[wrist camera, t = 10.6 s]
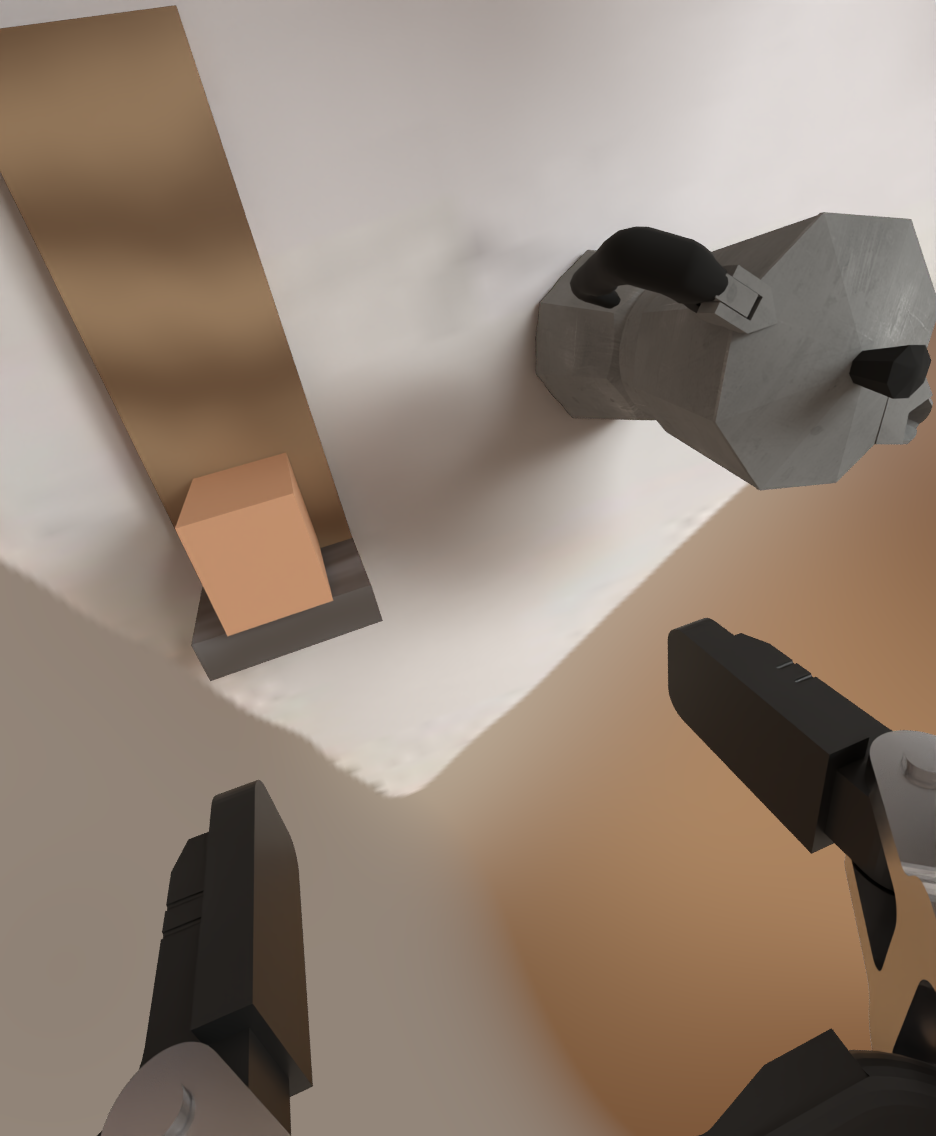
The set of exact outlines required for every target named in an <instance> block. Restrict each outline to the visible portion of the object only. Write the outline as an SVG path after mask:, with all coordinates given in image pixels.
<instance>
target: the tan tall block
mask: <svg viewBox="0 0 936 1136" xmlns="http://www.w3.org/2000/svg"><path fill="white" fill-rule="evenodd" d="M175 530H176V532H177V534H178V536H179V538H180V540H181V542H182V544H183V546H184V548H185V550H186V552H187V554H188V556H189V558H190V561H191V563H192V565H193V567H194V569H195V571H196V573H197V575H198V577H199V579H200V581H201V583H202V585H203V587H204V589H205V591H206V593H207V595H208V597H209V599H210V601H211V603H212V606H213V608H214V610H215V612H216V614H217V616H218V618H219V620H220V622H221V624H222V626H223V628H224V630H225V632H226V634H227V636H230V635H233V634H236V633H239V632H242V631H245V630H248V629H251V628H254V627H257V626H260V625H263V624H266V623H269V622H272V621H274V620H277V619H280V618H283V617H286V616H289V615H292V614H295V613H298V612H301V611H304V610H307V609H310V608H313V607H316V606H319V605H322V604H325V603H328V602H331V601H333V598H332V594H331V590H330V586H329V582H328V578H327V574H326V570H325V566H324V562H323V558H322V554H321V550H320V546H319V542H318V539H317V536H316V534H315V531H314V528H313V525H312V523H311V520H310V517H309V514H308V512H307V509H306V506H305V503H304V501H303V498H302V495H301V492H300V489H299V487H298V484H297V481H296V478H295V476H294V473H293V470H292V467H291V465H290V462H289V459H288V456H287V454H286V453H282V454H278V455H275V456H271V457H268V458H264V459H261V460H257V461H254V462H250V463H247V464H243V465H240V466H236V467H233V468H229V469H226V470H222V471H219V472H215V473H212V474H208V475H205V476H201V477H198V478H194V479H193V480H192V483H191V486H190V488H189V491H188V494H187V497H186V499H185V502H184V505H183V508H182V510H181V513H180V516H179V519H178V522H177V524H176V527H175Z"/></svg>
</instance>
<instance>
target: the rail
mask: <svg viewBox="0 0 936 1136" xmlns="http://www.w3.org/2000/svg"><path fill="white" fill-rule="evenodd" d="M0 172H1V174H2V176H3V178H4V180H5V182H6V184H7V186H8V188H9V190H10V192H11V195H12V197H13V199H14V201H15V203H16V205H17V207H18V209H19V211H20V213H21V215H22V217H23V219H24V221H25V223H26V225H27V227H28V229H29V231H30V233H31V235H32V237H33V240H34V242H35V244H36V246H37V248H38V250H39V252H40V254H41V256H42V258H43V260H44V262H45V264H46V266H47V268H48V270H49V272H50V274H51V276H52V278H53V280H54V282H55V285H56V287H57V289H58V291H59V293H60V295H61V297H62V299H63V301H64V303H65V305H66V307H67V309H68V311H69V313H70V315H71V317H72V319H73V321H74V323H75V325H76V327H77V330H78V332H79V334H80V336H81V338H82V340H83V342H84V344H85V346H86V348H87V350H88V352H89V354H90V356H91V358H92V360H93V362H94V364H95V366H96V368H97V370H98V372H99V375H100V377H101V379H102V381H103V383H104V385H105V387H106V389H107V391H108V393H109V395H110V397H111V399H112V401H113V403H114V405H115V407H116V409H117V411H118V413H119V415H120V417H121V419H122V422H123V424H124V426H125V428H126V430H127V432H128V434H129V436H130V438H131V440H132V442H133V444H134V446H135V448H136V450H137V452H138V454H139V456H140V458H141V460H142V462H143V464H144V467H145V469H146V471H147V473H148V475H149V477H150V479H151V481H152V483H153V485H154V487H155V489H156V491H157V493H158V495H159V497H160V499H161V501H162V503H163V505H164V507H165V509H166V512H167V514H168V516H169V518H170V520H171V522H172V524H173V526H174V528H175V527H176V524H177V522H178V519H179V516H180V513H181V510H182V508H183V505H184V502H185V499H186V497H187V494H188V491H189V488H190V486H191V483H192V480H193V479H194V478H198V477H201V476H205V475H208V474H212V473H215V472H219V471H222V470H226V469H229V468H233V467H236V466H240V465H243V464H247V463H250V462H254V461H257V460H261V459H264V458H268V457H271V456H275V455H278V454H282V453H286V454H287V456H288V459H289V462H290V465H291V467H292V470H293V473H294V476H295V478H296V481H297V484H298V487H299V489H300V492H301V495H302V498H303V501H304V503H305V506H306V509H307V512H308V514H309V517H310V520H311V523H312V525H313V528H314V531H315V534H316V536H317V539H318V542H319V546H320V550H321V554H322V558H323V562H324V566H325V570H326V574H327V578H328V582H329V586H330V590H331V594H332V598H333V601H331V602H328V603H325V604H322V605H319V606H316V607H313V608H310V609H307V610H304V611H301V612H298V613H295V614H292V615H289V616H286V617H283V618H280V619H277V620H274V621H272V622H269V623H266V624H263V625H260V626H257V627H254V628H251V629H248V630H245V631H242V632H239V633H236V634H233V635H230V636H227V634H226V632H225V630H224V628H223V626H222V624H221V622H220V620H219V618H218V616H217V614H216V612H215V610H214V608H213V606H212V603H211V601H210V599H209V597H208V595H207V593H206V591H205V589H204V587H202V592H201V597H200V603H199V608H198V613H197V618H196V623H195V629H194V634H193V639H192V644H191V646H192V647H193V649H194V651H195V653H196V655H197V657H198V659H199V661H200V662H201V664H202V666H203V668H204V670H205V672H206V674H207V676H208V678H209V679H210V681H212V680H215V679H218V678H221V677H224V676H226V675H229V674H232V673H235V672H238V671H241V670H243V669H246V668H249V667H252V666H255V665H258V664H261V663H263V662H266V661H269V660H272V659H275V658H278V657H281V656H283V655H286V654H289V653H292V652H295V651H298V650H300V649H303V648H306V647H309V646H312V645H315V644H318V643H320V642H323V641H326V640H329V639H332V638H335V637H338V636H340V635H343V634H346V633H349V632H352V631H355V630H357V629H360V628H363V627H366V626H369V625H372V624H375V623H377V622H380V621H383V620H382V617H381V614H380V611H379V608H378V605H377V602H376V599H375V596H374V593H373V590H372V587H371V584H370V581H369V579H368V576H367V574H366V571H365V569H364V566H363V564H362V561H361V559H360V556H359V554H358V551H357V549H356V546H355V543H354V541H353V538H352V536H351V533H350V529H349V526H348V523H347V520H346V517H345V514H344V511H343V508H342V505H341V502H340V499H339V496H338V493H337V490H336V487H335V484H334V481H333V478H332V475H331V472H330V469H329V466H328V463H327V460H326V457H325V454H324V451H323V448H322V445H321V442H320V439H319V436H318V433H317V430H316V427H315V424H314V421H313V418H312V415H311V412H310V409H309V406H308V403H307V400H306V397H305V394H304V391H303V388H302V385H301V381H300V378H299V375H298V372H297V369H296V366H295V363H294V360H293V357H292V354H291V351H290V348H289V345H288V342H287V339H286V336H285V333H284V330H283V327H282V324H281V321H280V318H279V315H278V312H277V309H276V306H275V303H274V300H273V297H272V294H271V291H270V288H269V285H268V282H267V279H266V276H265V273H264V270H263V267H262V264H261V261H260V258H259V255H258V252H257V249H256V246H255V243H254V240H253V236H252V233H251V230H250V227H249V224H248V221H247V218H246V215H245V212H244V209H243V206H242V203H241V200H240V197H239V194H238V191H237V188H236V185H235V182H234V179H233V176H232V173H231V170H230V167H229V164H228V161H227V158H226V155H225V152H224V149H223V146H222V143H221V140H220V137H219V134H218V131H217V128H216V125H215V122H214V119H213V116H212V113H211V110H210V107H209V104H208V101H207V98H206V95H205V91H204V88H203V85H202V82H201V79H200V76H199V73H198V70H197V67H196V64H195V61H194V58H193V55H192V52H191V49H190V46H189V43H188V40H187V37H186V34H185V31H184V28H183V25H182V22H181V19H180V16H179V13H178V10H177V7H176V5H175V6H168V7H160V8H153V9H145V10H137V11H130V12H122V13H115V14H107V15H100V16H92V17H84V18H77V19H69V20H62V21H54V22H47V23H39V24H32V25H24V26H16V27H9V28H1V29H0ZM188 557H189V556H188ZM189 559H190V558H189Z"/></svg>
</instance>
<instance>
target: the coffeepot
mask: <svg viewBox="0 0 936 1136" xmlns="http://www.w3.org/2000/svg"><path fill="white" fill-rule="evenodd" d="M935 322H936V293H935V290H934V287H933V284H932V281H931V278H930V275H929V272H928V269H927V266H926V263H925V260H924V257H923V254H922V251H921V248H920V244H919V241H918V238H917V235H916V232H915V229H914V226H913V223H912V220H911V219H903V218H890V217H877V216H865V215H852V214H839V213H826V212H823V213H819V214H818V215H817V216H814V217H811V218H808V219H805V220H803V221H800V222H797V223H794V224H791V225H788V226H785V227H782V228H779V229H776V230H774V231H771V232H768V233H765V234H762V235H759V236H756V237H753V238H750V239H747V240H745V241H742V242H739V243H736V244H733V245H730V246H727V247H724V248H721V249H718V250H716V251H713V252H710V251H709V250H708V249H707V248H706V247H704V246H703V245H702V244H700V243H698V242H696V241H695V240H692V239H689V238H685V237H682V236H678V235H675V234H671V233H668V232H664V231H661V230H657V229H654V228H651V227H632V228H628V229H624V230H620V231H618V232H616V233H615V234H614V235H612V236H611V237H610V238H608V239H607V240H606V241H605V242H604V243H603V244H602V245H601V247H600V248H599V249H598V250H587V251H586V252H585V253H584V254H583V255H582V256H581V257H580V259H579V260H578V261H577V262H576V263H575V264H574V265H573V266H572V267H571V268H570V269H569V270H568V271H567V272H565V273H564V274H563V275H562V276H561V277H560V279H559V280H558V281H557V283H556V284H555V285H554V287H553V288H552V289H551V291H550V292H549V293H548V294H547V295H546V296H545V297H544V299H543V300H542V301H541V302H540V307H539V316H538V325H537V332H536V357H537V361H536V374H537V376H538V377H539V378H540V379H541V380H542V382H543V383H544V384H545V385H546V387H547V388H548V390H549V391H550V393H551V394H552V395H553V396H554V397H555V398H556V399H557V400H558V401H559V402H560V403H561V404H562V406H563V407H564V408H565V409H566V410H567V412H568V413H569V414H570V415H571V416H572V418H593V419H624V420H657V421H658V423H659V424H660V425H661V426H662V427H663V429H664V430H665V431H666V432H667V433H669V434H670V435H672V436H674V437H675V438H677V439H679V440H680V441H682V442H683V443H685V444H687V445H688V446H690V447H691V448H693V449H695V450H696V451H698V452H699V453H701V454H703V455H704V456H706V457H707V458H709V459H711V460H712V461H714V462H715V463H717V464H719V465H720V466H722V467H724V468H725V469H727V470H728V471H730V472H732V473H733V474H735V475H736V476H738V477H740V478H741V479H743V480H744V481H746V482H748V483H749V484H751V485H753V486H754V487H756V488H757V489H758V490H767V489H777V488H787V487H798V486H808V485H819V484H829V483H836V482H837V481H838V480H839V479H840V478H841V477H842V476H843V475H844V474H845V473H846V472H847V471H848V470H849V469H850V468H851V467H852V466H853V465H854V464H855V463H856V462H857V461H858V460H859V459H860V458H861V457H862V456H863V455H864V454H865V453H866V452H867V451H868V450H869V449H870V448H871V447H872V446H873V445H874V444H908V443H909V442H910V441H911V440H912V439H913V438H914V437H915V436H916V432H917V430H916V428H917V426H918V425H919V424H920V423H921V422H923V421H924V420H925V419H926V418H927V416H928V415H929V413H930V411H931V408H932V404H933V402H932V400H931V398H930V397H931V396H932V392H931V389H930V387H929V384H928V382H927V379H926V375H927V372H928V369H929V366H930V363H931V359H930V356H929V353H928V350H927V347H928V343H929V340H930V337H931V334H932V331H933V328H934V325H935Z"/></svg>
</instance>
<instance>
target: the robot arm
mask: <svg viewBox="0 0 936 1136" xmlns="http://www.w3.org/2000/svg"><path fill="white" fill-rule="evenodd" d="M668 689H669V695H670V698H671V701H672V704H673V706H674V708H675V710H676V711H677V713H678V714H679V716H680V717H681V718H682V719H683V721H684V722H685V723H686V724H687V725H688V726H689V727H690V728H691V729H692V730H693V731H694V732H695V733H696V734H697V735H698V736H699V737H700V738H701V739H702V740H703V741H704V742H705V743H706V745H707V746H708V747H709V748H710V749H711V750H712V751H713V752H714V753H715V754H716V755H717V756H718V757H719V758H720V759H721V760H722V761H723V762H724V763H725V764H726V765H727V766H728V767H729V769H730V770H731V771H732V772H733V773H734V774H735V775H736V776H737V777H738V778H739V779H740V780H741V781H742V782H743V783H744V784H745V785H746V786H747V787H748V788H749V789H750V790H751V791H752V792H753V793H754V795H755V796H756V797H757V798H758V799H759V800H760V801H761V802H762V803H763V804H764V805H765V806H766V807H767V808H768V809H769V810H770V811H771V812H772V813H773V814H774V815H775V816H776V817H777V818H778V819H779V820H780V822H781V823H782V824H783V825H784V826H785V827H786V828H787V829H788V830H789V831H790V832H791V833H792V834H793V835H794V836H795V837H796V838H797V839H798V840H799V841H800V842H801V843H802V844H803V845H804V846H805V847H806V849H807V850H808V851H809V852H810V853H814V852H816V851H818V850H820V849H823V848H825V847H827V846H829V845H831V844H833V843H835V844H836V845H837V846H838V847H839V848H840V849H841V850H842V851H843V852H844V853H845V854H846V856H845V871H846V875H847V880H848V885H849V890H850V895H851V900H852V904H853V909H854V914H855V919H856V924H857V929H858V934H859V938H860V943H861V948H862V953H863V958H864V963H865V968H866V973H867V978H868V985H869V1027H870V1038H871V1045H872V1051H867V1050H849V1051H848V1049H847V1048H846V1047H845V1045H844V1044H843V1043H842V1041H841V1040H840V1039H839V1038H838V1036H837V1035H836V1034H835V1032H834V1031H833V1030H832V1029H829V1030H828V1031H826V1032H824V1033H822V1034H820V1035H819V1036H817V1037H815V1038H813V1039H811V1040H809V1041H808V1042H806V1043H804V1044H802V1045H800V1046H798V1047H797V1048H795V1049H793V1050H791V1051H789V1052H787V1053H785V1054H784V1055H782V1056H780V1057H778V1058H776V1059H774V1060H773V1061H771V1062H769V1063H767V1064H765V1065H764V1066H763V1067H762V1068H761V1069H760V1071H759V1072H758V1073H757V1074H756V1075H755V1077H754V1078H753V1079H752V1080H751V1081H750V1083H749V1084H748V1085H747V1086H746V1087H745V1088H744V1090H743V1091H742V1092H741V1093H740V1094H739V1096H738V1097H737V1098H736V1099H735V1100H734V1102H733V1103H732V1104H731V1105H730V1106H729V1108H728V1109H727V1110H726V1111H725V1112H724V1114H723V1115H722V1116H721V1117H720V1119H719V1120H718V1121H717V1122H716V1123H715V1124H714V1126H713V1127H712V1128H711V1129H710V1130H709V1131H708V1132H706V1133H704V1134H702V1135H699V1136H936V736H935V735H932V734H928V733H923V732H918V731H908V730H902V731H901V730H900V731H892V730H890V729H889V728H887V727H886V726H884V725H883V724H881V723H880V722H879V721H877V720H875V719H874V718H873V717H872V716H870V715H869V714H867V713H866V712H865V711H863V710H862V709H860V708H859V707H858V706H856V705H855V704H853V703H852V702H851V701H849V700H848V699H846V698H845V697H843V696H842V695H841V694H839V693H838V692H836V691H835V690H834V689H832V688H831V687H830V686H828V685H827V684H825V683H824V682H823V681H821V680H820V679H818V678H817V677H814V678H813V677H812V675H811V673H810V672H809V671H807V670H806V669H804V668H803V667H801V666H800V665H799V664H797V663H796V664H794V663H793V661H792V659H790V658H789V657H787V656H786V655H785V654H783V653H782V652H780V651H779V650H778V649H776V648H775V647H773V646H772V645H771V644H769V643H766V642H764V641H761V640H758V639H755V638H753V637H750V636H747V635H744V634H742V633H740V634H737V635H735V636H734V635H733V634H731V633H730V632H728V631H727V630H726V629H725V628H723V627H722V626H720V625H719V624H718V623H717V622H715V621H714V620H712V619H710V618H704V619H701V620H698V621H695V622H692V623H690V624H687V625H684V626H681V627H679V628H676V629H674V630H671V631H670V633H669V636H668ZM166 905H167V911H165V917H164V923H163V930H162V933H163V939H162V940H161V943H160V950H159V957H158V963H157V970H156V977H155V983H154V990H153V997H152V1003H151V1010H150V1016H149V1023H148V1030H147V1037H146V1043H145V1049H144V1054H143V1058H142V1062H141V1065H140V1068H139V1070H138V1071H137V1072H136V1073H135V1075H134V1076H133V1077H132V1078H131V1079H130V1081H129V1082H128V1083H127V1084H126V1086H125V1087H124V1088H123V1090H122V1091H121V1093H120V1094H119V1096H118V1098H117V1099H116V1101H115V1103H114V1105H113V1106H112V1108H111V1110H110V1112H109V1115H108V1117H107V1119H106V1122H105V1124H104V1127H103V1130H102V1131H101V1132H100V1133H99V1134H98V1135H97V1136H291V1123H290V1122H291V1120H290V1097H291V1096H293V1095H295V1094H298V1093H299V1092H302V1091H304V1090H306V1089H308V1088H310V1087H312V1086H313V1083H312V1068H311V1052H310V1037H309V1021H308V1006H307V991H306V975H305V961H304V944H303V929H302V913H301V899H300V883H299V869H298V862H297V857H296V853H295V849H294V845H293V842H292V839H291V837H290V835H289V832H288V830H287V829H286V826H285V824H284V823H283V821H282V819H281V817H280V815H279V813H278V811H277V809H276V807H275V805H274V803H273V801H272V799H271V797H270V795H269V794H268V791H267V789H266V787H265V786H264V784H263V783H262V782H261V781H260V780H256V781H254V782H251V783H248V784H245V785H243V786H240V787H237V788H235V789H232V790H229V791H226V792H224V793H221V794H218V795H216V796H215V797H214V798H213V800H212V806H211V816H210V827H209V832H207V833H204V834H202V835H199V836H196V837H194V838H191V839H189V840H188V841H187V843H186V845H185V847H184V849H183V851H182V853H181V855H180V857H179V858H178V860H177V862H176V864H175V866H174V868H173V870H172V872H171V878H170V884H169V890H168V897H167V904H166Z"/></svg>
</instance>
